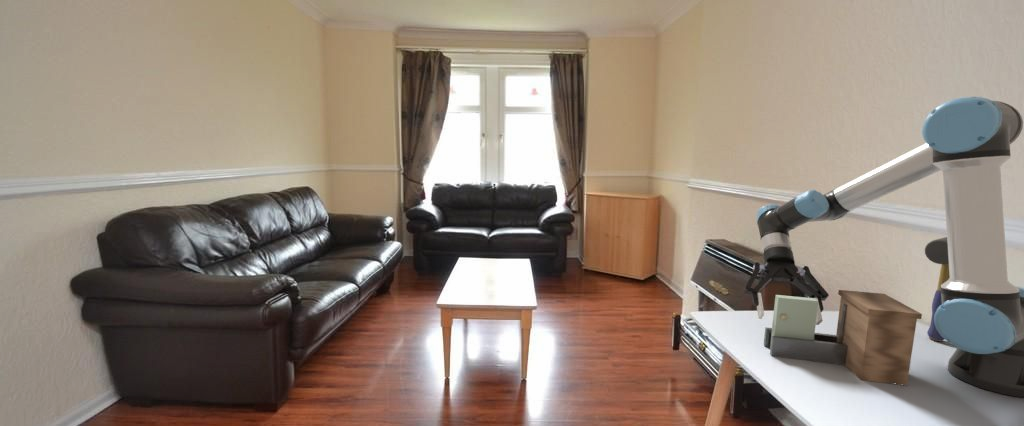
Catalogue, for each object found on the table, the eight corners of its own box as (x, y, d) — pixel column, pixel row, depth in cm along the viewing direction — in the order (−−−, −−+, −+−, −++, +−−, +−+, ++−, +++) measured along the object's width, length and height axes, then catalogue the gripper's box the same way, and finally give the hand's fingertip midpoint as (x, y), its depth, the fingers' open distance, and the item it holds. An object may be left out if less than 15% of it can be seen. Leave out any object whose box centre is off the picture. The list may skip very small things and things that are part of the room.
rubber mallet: (930, 331, 132) (945, 233, 128) (963, 341, 125) (980, 238, 121) (908, 338, 127) (923, 236, 123) (942, 348, 120) (959, 241, 116)
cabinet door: (808, 353, 115) (814, 298, 113) (812, 358, 112) (819, 302, 110) (769, 348, 118) (775, 294, 116) (773, 353, 115) (779, 298, 113)
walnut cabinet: (875, 358, 113) (884, 293, 111) (910, 387, 99) (921, 314, 97) (830, 352, 116) (838, 289, 114) (859, 380, 102) (868, 308, 99)
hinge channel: (833, 353, 116) (835, 334, 115) (845, 365, 109) (847, 345, 108) (763, 344, 120) (765, 327, 119) (771, 355, 113) (773, 337, 113)
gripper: (820, 262, 128) (838, 331, 116) (728, 255, 135) (735, 320, 122) (831, 248, 123) (850, 319, 110) (733, 241, 129) (741, 308, 116)
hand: (789, 319), depth 116 cm, fingers open, 13 cm apart
